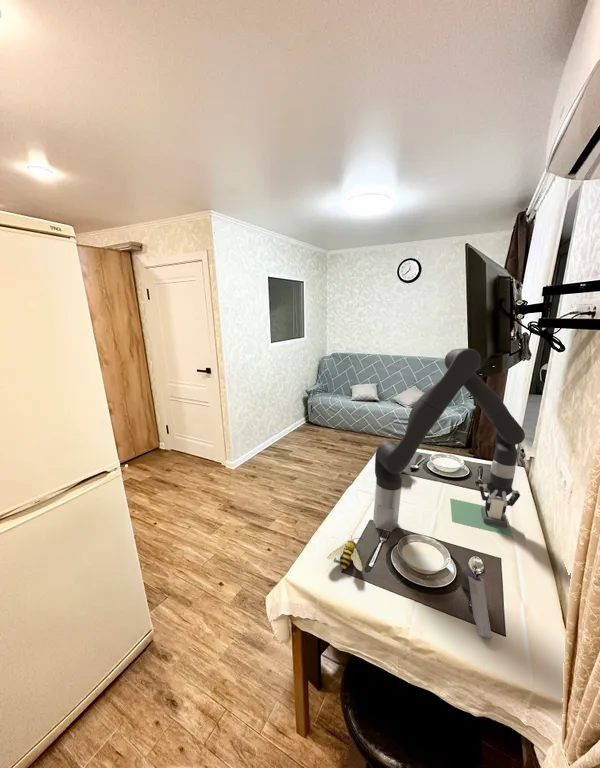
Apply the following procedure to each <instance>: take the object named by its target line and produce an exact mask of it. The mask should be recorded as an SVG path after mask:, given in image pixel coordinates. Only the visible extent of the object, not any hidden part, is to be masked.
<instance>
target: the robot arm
mask: <svg viewBox="0 0 600 768" xmlns="http://www.w3.org/2000/svg"><path fill="white" fill-rule="evenodd" d="M481 358H482V357H481V354H480V352H479V351H477V350H476V349H473V348H468V347H466V348H464V347H463V348H454V349H452V350H450V351H448V352H447V353H446V355H445V356H444V365H445V367H446V369H447V370H446V372H445V373H444V374H443V375H442V377H441V378H440V379H439V380H438V381H437V382H436V383H435V384H433V385H432V386H431V387H429V388H428V390H426V391H425V392H423V393H422V394H421V396H420V397H419V399H418V400H417V401H416V402H415V404H414V405H413V406H412V408H411V410H410V412H409V415H408V420H407V426H406V429H405V433H404V435H403V437H402V438H401V440H400V441H399V443H398V444H397V443H396V442H394V441H392V440H384V441H382V442H381V443H380V444H379V445H378V447H377V448H376V451H375V457H374V459H375V461H374V474H375V479H376V481H375V493H374V505H373V519H372V521H373V524H374V526H375V529H380V530H383V529H386V530H389V531H388V532H391V533H393V531H394V530H395V529H397V527H398V524H399V523H398V522H399V515H400V504H401V503H400V502H401V495H402V486H403V485H402V484H403V478H402V476H401V473H400V472H401V471H403V472H404V470H405V469H406V468H407V467H408V466H409V464H410V462H411V461H412V459H413V457H414V456H415V454H416V452H417V450H418V449H419V447H420V446H421V444H422V442H423V441H424V440H425V438H426V436H427V435H428V434H429V432H430V431H431V430H432V429H433V427H434V425H435V424H436V423H437V422H438V421H439V419H440V418H441V416H442V415H443V413H444V412H445V410H446V409H447V407H448V406H450V403H451V402H452V401H453V400H454V398H455V397H456V396H457V393H458V392H459V391H460V390H461V389H462V388H463V387H464V388H465V389H466V391H468V393H469V394H470V396H472V398H473V400H474V401H475V402H476V403H477V405H478V406H479V407H480V409H481V411H482V412H483V413H484V416H486V418H487V419H488V420H489V421H490V422H491V424H492V425H494V428H495V436H494V437H495V450H494V455H493V460H492V461H491V466H490V470H489V471H490V472H489V477H488V481H487V482H486V483H485V484H482V483H478V488H479V492H480V496H481V500H482V501H485V502H484V503H485V504H484V506H485V507H486V509H487V511H489V510H490V505H491V500H492V499H494V497H495V496H496V497H501V498H502V499H503V501H504V506H503V511H502V514H503V513H505V514H506V510H507V507H508V506H509V507H513V506H514V505H515V504H516V502H517V501H518V500H519V498H520V497H521V494H520V491H519V490H517V489H516V490H514V489H513V483H514V477H515V474H516V467H517V466H516V464H517V459H518V454H519V452H518V449H517V447H516V445H520V444H521V443H523V442H524V441H525V439H526V433H525V431H524V429H523V427H522V426H521V425H520V424H519V423H518V421H517V420H516V419H515V418H514V416H513V415H512V414H511V413H510V411H509V409H508V407H507V406H506V405H505V403H504V402H503V400H502V399H501V397H500V396H499V395H498V394H497V393H496V392H495V390H493V389H492V388H491V387H490V386H489V385H488V384H487V383H485V381H483V380H482V378H481V377H480V376H479V375H478V374H477V371H478V369H479V368H480V366H481V362H482V361H481V360H482V359H481ZM399 473H400V474H399ZM486 488H487V490H488V493H487V495H485V491H486ZM510 494H511V496H510V497H509V499H508V500H507V496H509V495H510ZM386 530H385V531H386Z"/></svg>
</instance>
